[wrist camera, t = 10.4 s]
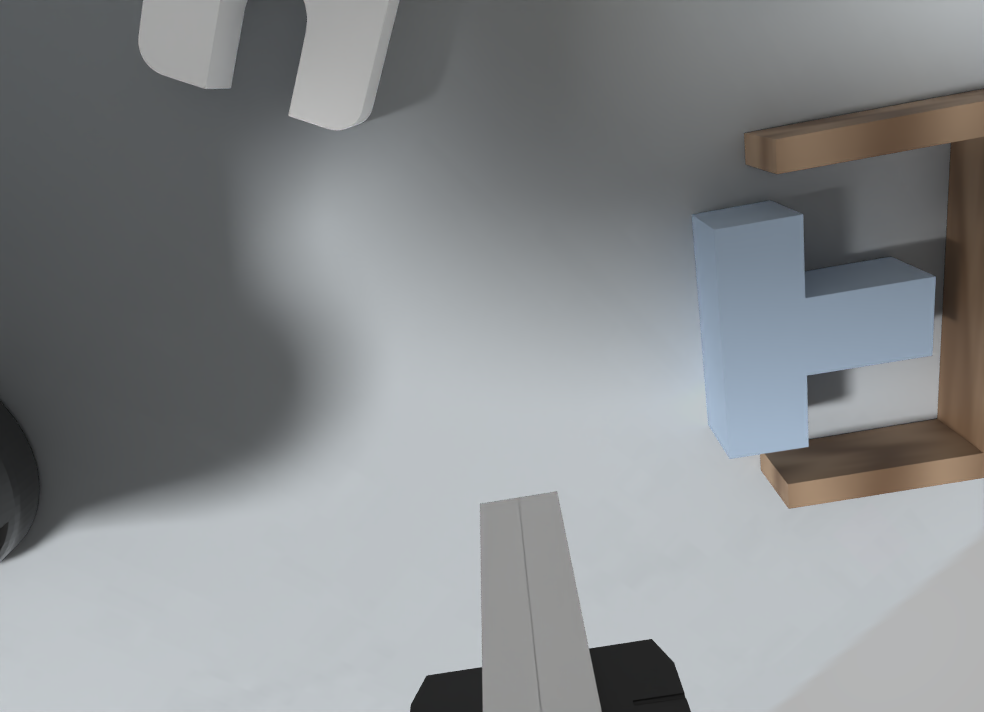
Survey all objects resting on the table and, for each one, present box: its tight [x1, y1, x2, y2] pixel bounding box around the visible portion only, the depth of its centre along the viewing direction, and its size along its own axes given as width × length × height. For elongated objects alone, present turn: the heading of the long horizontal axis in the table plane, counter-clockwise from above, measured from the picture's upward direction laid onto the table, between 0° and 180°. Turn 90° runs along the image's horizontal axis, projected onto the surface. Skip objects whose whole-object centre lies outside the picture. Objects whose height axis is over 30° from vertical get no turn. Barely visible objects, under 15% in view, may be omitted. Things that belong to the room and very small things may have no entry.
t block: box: [692, 200, 936, 459], centre depth 36 cm, size 10×12×4 cm
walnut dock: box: [744, 89, 984, 509], centre depth 36 cm, size 12×19×4 cm, turn 10°
